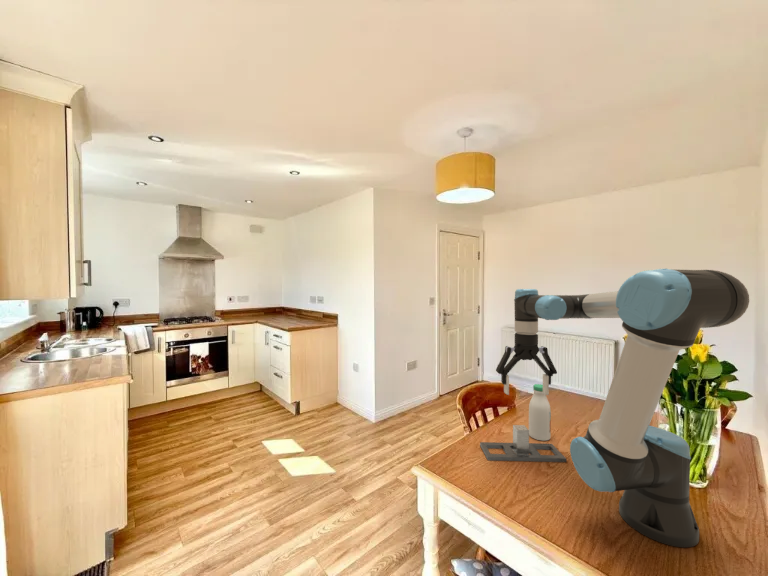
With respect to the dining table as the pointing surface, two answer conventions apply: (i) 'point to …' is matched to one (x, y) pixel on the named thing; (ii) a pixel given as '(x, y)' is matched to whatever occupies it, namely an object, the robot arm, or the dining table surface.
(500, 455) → the grey slotted plate
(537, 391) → the milk bottle
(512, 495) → the dining table surface
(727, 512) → the dining table surface
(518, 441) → the block
